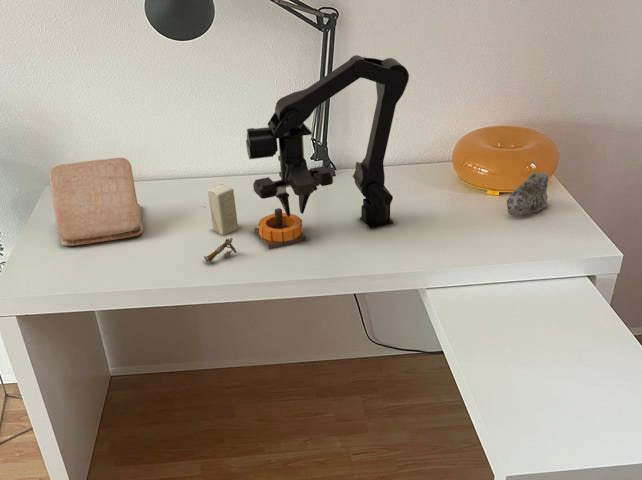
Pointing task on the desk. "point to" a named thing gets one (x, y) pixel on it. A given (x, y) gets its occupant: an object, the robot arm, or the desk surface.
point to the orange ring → (280, 234)
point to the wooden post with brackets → (219, 249)
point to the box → (223, 209)
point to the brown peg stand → (279, 226)
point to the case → (95, 201)
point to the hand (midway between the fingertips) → (295, 214)
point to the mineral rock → (529, 195)
